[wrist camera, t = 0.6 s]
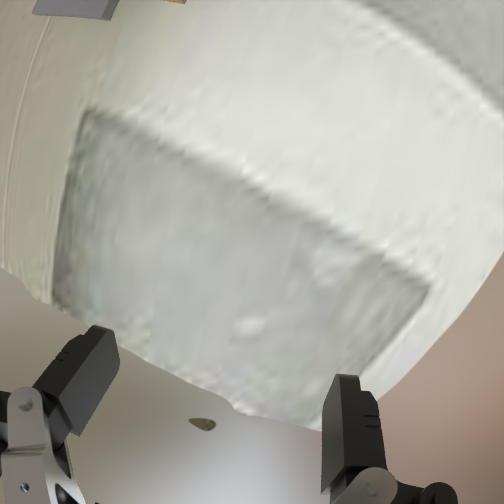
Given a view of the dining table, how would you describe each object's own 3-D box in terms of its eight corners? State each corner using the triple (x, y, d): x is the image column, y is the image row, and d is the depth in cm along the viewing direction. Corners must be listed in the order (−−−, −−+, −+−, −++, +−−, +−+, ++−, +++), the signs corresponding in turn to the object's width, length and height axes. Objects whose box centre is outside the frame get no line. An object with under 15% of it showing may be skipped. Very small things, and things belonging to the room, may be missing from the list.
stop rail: (48, -3, 26) (39, -6, 24) (119, 0, 26) (111, -5, 24) (40, 15, 27) (31, 13, 25) (109, 20, 28) (101, 17, 26)
